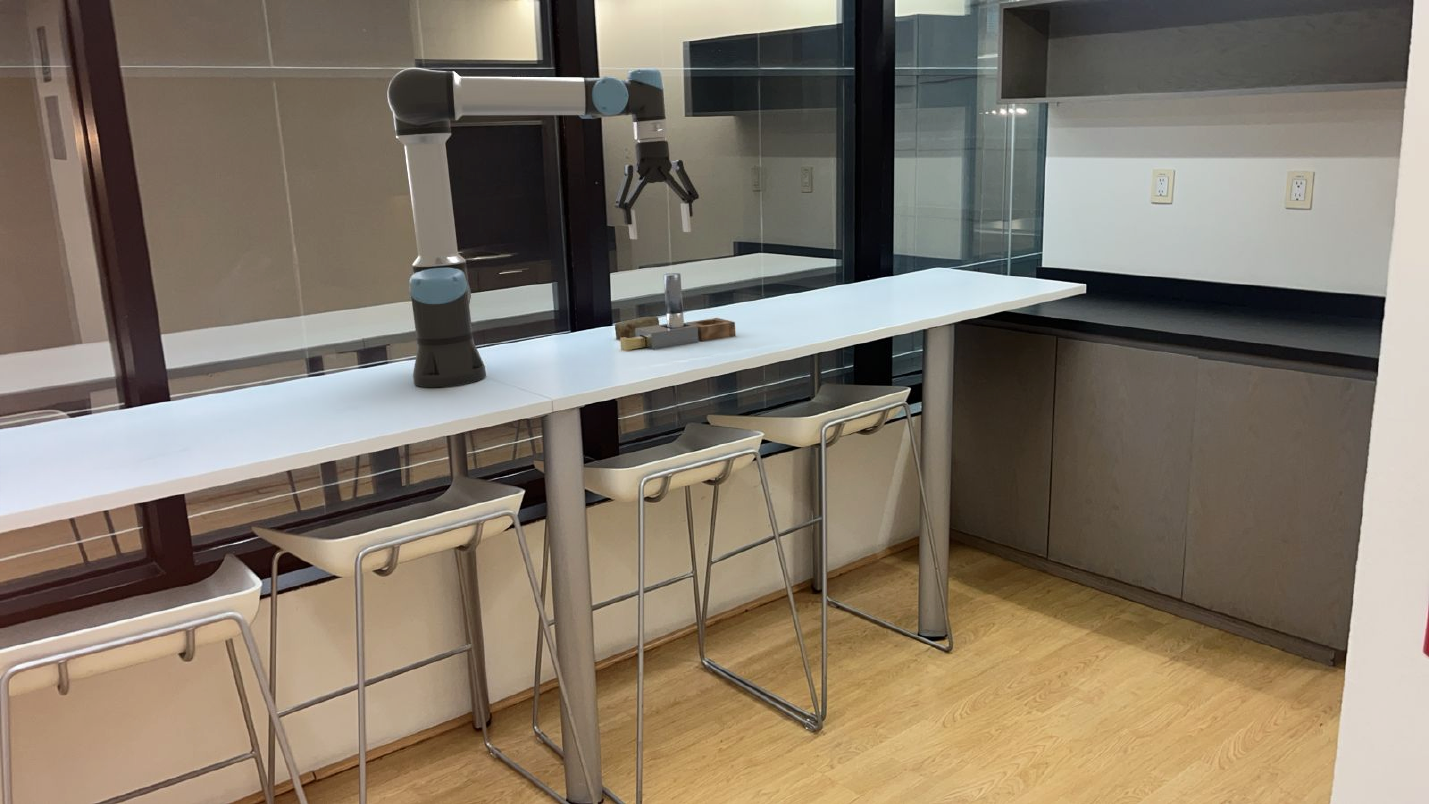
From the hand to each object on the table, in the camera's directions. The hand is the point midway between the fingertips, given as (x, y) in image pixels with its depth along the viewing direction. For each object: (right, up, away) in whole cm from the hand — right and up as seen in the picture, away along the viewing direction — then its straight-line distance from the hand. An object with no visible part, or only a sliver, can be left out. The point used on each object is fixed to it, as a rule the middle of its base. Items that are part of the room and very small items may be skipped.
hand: (660, 235), depth 244 cm
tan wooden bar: (-5, -26, +3) cm, 26 cm away
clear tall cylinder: (+3, -24, +7) cm, 25 cm away
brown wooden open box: (+11, -23, +11) cm, 28 cm away
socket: (+1, -25, +6) cm, 26 cm away
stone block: (-7, -23, +19) cm, 30 cm away
